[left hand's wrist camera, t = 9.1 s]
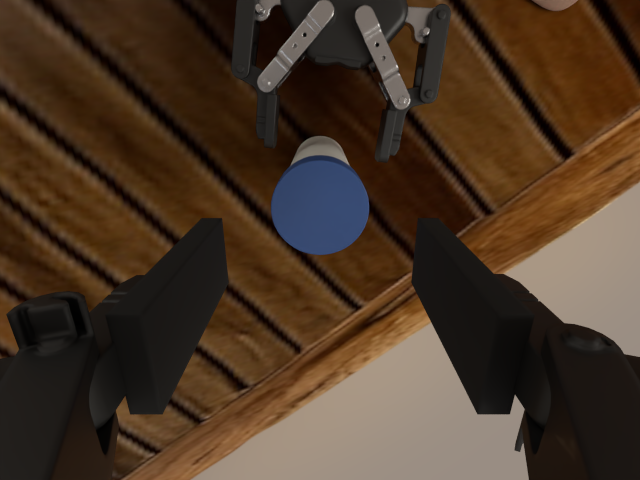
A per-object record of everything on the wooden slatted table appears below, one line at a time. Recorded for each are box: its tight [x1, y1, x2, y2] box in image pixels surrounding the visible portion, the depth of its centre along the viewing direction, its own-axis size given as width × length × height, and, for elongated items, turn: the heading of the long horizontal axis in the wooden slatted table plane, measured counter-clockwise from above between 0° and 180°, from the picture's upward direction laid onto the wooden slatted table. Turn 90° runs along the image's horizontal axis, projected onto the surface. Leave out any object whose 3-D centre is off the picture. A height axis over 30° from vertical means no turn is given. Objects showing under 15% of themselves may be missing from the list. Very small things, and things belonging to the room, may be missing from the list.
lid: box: [271, 155, 369, 255], centre depth 20 cm, size 5×5×2 cm
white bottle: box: [290, 136, 350, 166], centre depth 27 cm, size 5×5×16 cm
